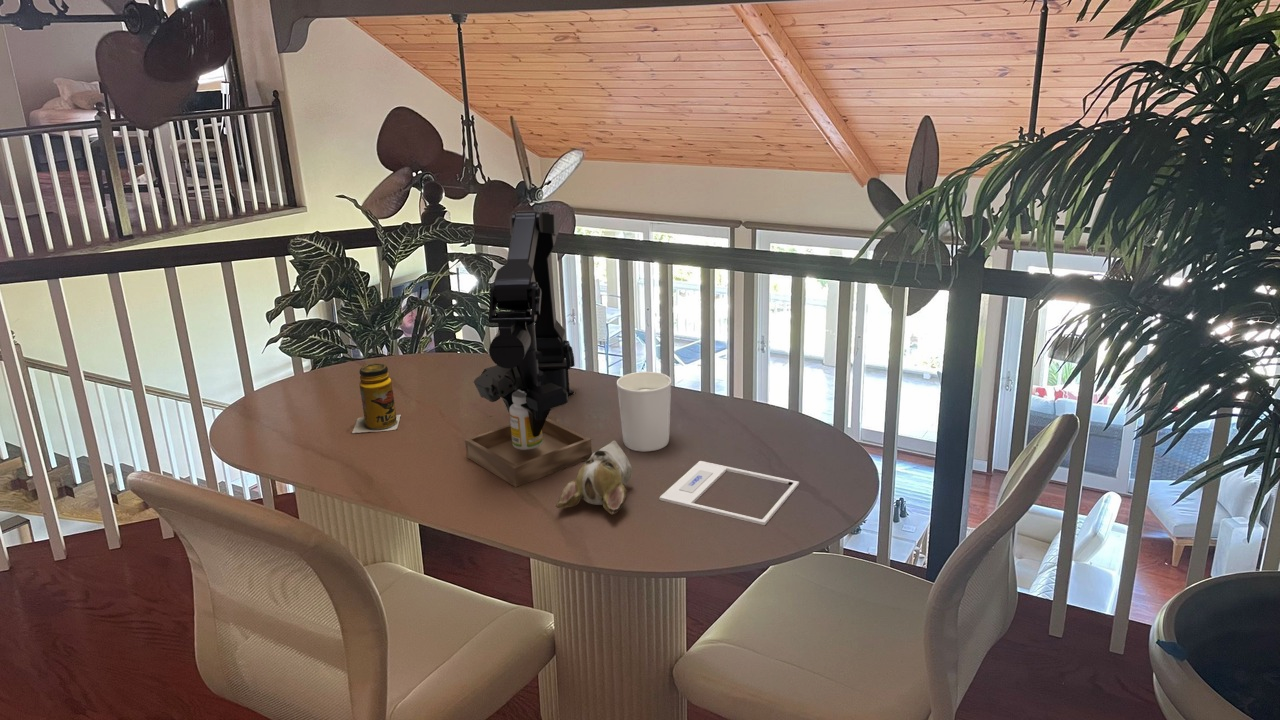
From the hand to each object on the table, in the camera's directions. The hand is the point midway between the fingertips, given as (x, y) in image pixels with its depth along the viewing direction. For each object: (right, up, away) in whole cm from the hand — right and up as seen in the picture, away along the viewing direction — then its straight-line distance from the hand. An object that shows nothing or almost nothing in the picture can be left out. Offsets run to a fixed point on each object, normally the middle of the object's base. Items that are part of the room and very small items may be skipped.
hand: (526, 431), depth 158 cm
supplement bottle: (0, -3, +1) cm, 3 cm away
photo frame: (+35, -9, -13) cm, 38 cm away
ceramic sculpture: (+14, -10, -14) cm, 22 cm away
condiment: (-32, 0, +18) cm, 37 cm away
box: (0, -5, +2) cm, 5 cm away
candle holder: (+21, -3, +6) cm, 22 cm away
